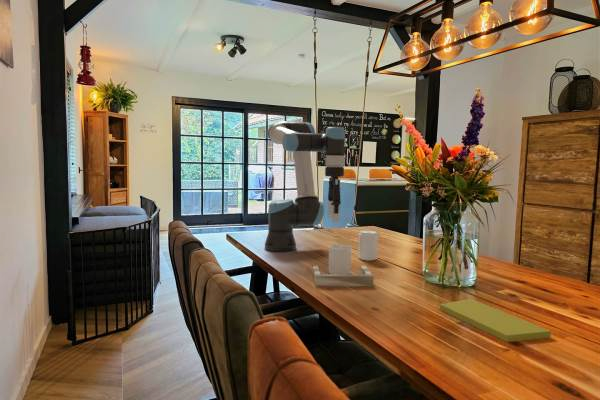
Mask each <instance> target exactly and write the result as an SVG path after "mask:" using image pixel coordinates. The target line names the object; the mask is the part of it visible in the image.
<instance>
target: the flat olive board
mask: <svg viewBox="0 0 600 400" xmlns="http://www.w3.org/2000/svg"><path fill="white" fill-rule="evenodd" d="M439 311H442V312H444V313H445V314H448V315H449V316H452V317H454V318H455V319H458V320H460V321H462V322H464V323H466V324H468V325H470V326H472V327H475V328H476V329H479V330H481V331H482V332H485V333H487V334H488V335H491V336H493V337H495V338H497V339H499V340H501V341H503V342H505V343H511V342H519V341H521V342H522V341H529V340H530V341H532V340H540V339H542V340H543V339H550V338H551V337H552V336H551V335H552V331H551V330H549V329H547V328H544V327H541V326H539V325H537V324H534V323H533V322H530V321H527V320H525V319H522V318H519V317H518V316H515V315H512V314H511V313H510V314H509V313H508V312H504V311H502V310H501V309H497V308H495V307H492V306H491V305H488V304H485V303H482V302H480V301H477V300H476V299H473V298H466V299H462V300H456V301H452V302H451V301H450V302H446V303H440V304H439Z"/></svg>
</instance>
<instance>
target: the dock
mask: <svg viewBox="0 0 600 400" xmlns="http://www.w3.org/2000/svg"><path fill="white" fill-rule="evenodd" d="M312 278H313V282H314V286H315V287H374V279H375V278H374V275H373V274H372V272H371V271H370V270H369V268H368V267H367V266H366V265H360V273H358V274H357V273H356V274H351V273H350V274H330V273H329V274H324V273H323V274H322V273H321V272H320V268H319V266H318V265H312Z"/></svg>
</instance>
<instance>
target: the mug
mask: <svg viewBox="0 0 600 400" xmlns="http://www.w3.org/2000/svg"><path fill="white" fill-rule="evenodd" d="M351 270H352V246H351V245H348V244H344V243H343V244H342V243H339V244H338V243H337V244H331V245H329V246H328V273H329V274H351Z"/></svg>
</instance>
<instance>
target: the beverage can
mask: <svg viewBox="0 0 600 400" xmlns="http://www.w3.org/2000/svg"><path fill="white" fill-rule="evenodd" d="M359 231H360V232H359V234H358V253H357V255H358V256H357V257H358V258H359V260H361V261H366V262H371V261H375V260H377V259H378V248H379V247H378V246H379V245H378V244H379V235H378V232H377V231H376V230H370V229H369V230H365V229H364V230H359Z"/></svg>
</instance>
